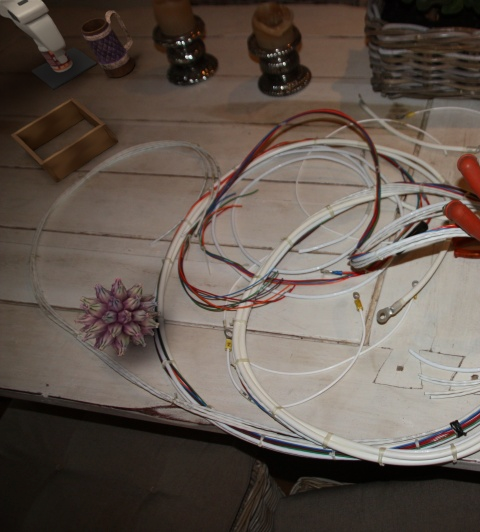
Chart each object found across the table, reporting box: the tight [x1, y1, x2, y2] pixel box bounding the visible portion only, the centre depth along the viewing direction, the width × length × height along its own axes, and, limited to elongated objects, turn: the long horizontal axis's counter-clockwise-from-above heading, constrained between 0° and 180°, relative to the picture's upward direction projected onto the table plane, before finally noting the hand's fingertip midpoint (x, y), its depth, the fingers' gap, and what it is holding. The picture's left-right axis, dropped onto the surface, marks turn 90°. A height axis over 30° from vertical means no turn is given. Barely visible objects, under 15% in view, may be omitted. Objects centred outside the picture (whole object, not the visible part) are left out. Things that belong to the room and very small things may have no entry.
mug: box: [80, 10, 135, 79], centre depth 127 cm, size 10×7×12 cm
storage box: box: [10, 97, 119, 183], centre depth 115 cm, size 15×15×5 cm
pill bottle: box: [32, 38, 73, 72], centre depth 130 cm, size 5×5×8 cm
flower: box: [73, 277, 161, 357], centre depth 83 cm, size 12×12×12 cm
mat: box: [31, 46, 98, 91], centre depth 134 cm, size 12×12×1 cm
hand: (54, 54), depth 131 cm, fingers open, 8 cm apart
